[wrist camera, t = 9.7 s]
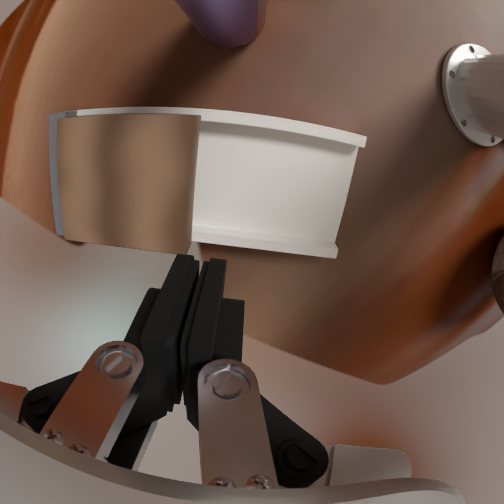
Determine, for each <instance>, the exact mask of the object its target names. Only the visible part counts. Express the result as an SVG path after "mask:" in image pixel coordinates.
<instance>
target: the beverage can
mask: <svg viewBox="0 0 504 504" xmlns="http://www.w3.org/2000/svg"><path fill="white" fill-rule="evenodd" d="M175 1H176V2H177V4H178V5H179V6H180V8H181V9H182V10H183V11H184V13H185V14H186V15H187V17H188V18H189V19H190V21H191V22H192V23H193V25H194V26H195V27H196V29H197V30H198V31H199V33H200V34H201V36H202V37H203V38H204V39H205V40H206V41H208V42H209V43H211V44H213V45H215V46H219V47H224V48H234V47H239V46H243V45H245V44H248V43H250V42H251V41H253V40H254V39H255V38H256V37H257V36H258V35H259V34H260V33H261V31H262V29H263V27H264V23H265V17H266V10H267V4H268V0H175Z"/></svg>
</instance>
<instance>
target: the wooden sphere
mask: <svg viewBox="0 0 504 504" xmlns="http://www.w3.org/2000/svg"><path fill="white" fill-rule="evenodd" d="M492 287H493V292H494V296H495V299H496V301H497V304H498V306H499V307H500V309H501V311H502V312H503V313H504V236H503V237H502V239H501V241H500V242H499V244H498V247H497V249H496V252H495V255H494V259H493V264H492Z"/></svg>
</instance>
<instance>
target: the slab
mask: <svg viewBox="0 0 504 504" xmlns="http://www.w3.org/2000/svg"><path fill="white" fill-rule="evenodd" d="M200 124H201V115H190V114H166V113H121V114H98V115H84V116H72V117H66V118H60V119H57V169H58V185H59V197H60V207H61V216H62V223H63V230H64V237H65V240H72V241H80V242H87V243H94V244H102V245H109V246H116V247H124V248H132V249H139V250H147V251H155V252H162V253H170V254H185V255H186V254H187V252H188V249H189V247H190V245H191V241H192V221H193V204H194V190H195V177H196V165H197V154H198V143H199V133H200Z"/></svg>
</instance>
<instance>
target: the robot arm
mask: <svg viewBox="0 0 504 504" xmlns="http://www.w3.org/2000/svg"><path fill="white" fill-rule="evenodd" d="M442 89H443V96H444V99H445V103H446V107H447V109H448V112H449V114H450V117H451V118H452V120H453V122H454V124H455V126H456V127H457V128H458V130H459V131H460V132H461V133H462V134H463V135H464V136H465V137H466V138H467V139H468V140H470V141H471V142H473V143H475V144H478V145H481V146H485V147H487V146H493V145H496V144H498V143H499V142H501V141H502V140H503V139H504V54H494V55H492V54H491V53H490V52H489V51H488V50H486V49H485V48H483V47H482V46H480V45H477V44H474V43H464V44H459V45H457V46H454V47H453V48H452V49H451V50H450V51H449V53H448V54H447V56H446V58H445V61H444V64H443V69H442ZM226 261H227V260H224V259H216V258H210V262H206V261H204V262H203V265H202V269H201V272H200V275H199V261H198V260H194V256H192V255H185V254H177V256H176V258H175V260H174V262H173V264H172V266H171V268H170V270H169V273H168V275H167V277H166V279H165V282H164V283H163V286H162V288H161V289H157V288H149V290H148V291H147V293H146V295H145V297H144V299H143V301H142V303H141V305H140V307H139V309H138V311H137V313H136V316H135V318H134V320H133V322H132V324H131V326H130V328H129V330H128V333H127V335H126V337H125V339H124V341H112V342H108V343H105V344H103V345H102V346H100V347H98V349H96V350H95V351H94V353H93V354H92V355H91V357H90V358H89V360H88V361H87V363H86V364H85V365H84V367H83V368H82V370H81V371H78V372H76V373H74V374H71V375H68V376H66V377H63V378H60V379H58V380H55V381H53V382H50V383H47V384H45V385H42V386H39V387H36V388H35V389H33V390H31V391H29V390H28V389H27V388H26V387H23V386H18V385H13V384H9V383H5V382H1V381H0V504H466V503H465V501H464V499H463V497H462V496H461V494H460V492H459V491H458V490H456V489H455V487H453V486H452V485H450V484H448V483H446V482H442V481H439V480H434V479H427V478H412V477H411V463H410V460H409V458H408V457H407V456H406V454H404V453H403V452H401V451H399V450H395V449H380V448H367V447H356V446H347V445H339V444H335V445H334V446H327V445H322V444H321V443H320V442H319V441H318V440H317V439H315V438H314V437H313V436H312V435H310V434H309V433H308V432H306V431H305V430H303V429H302V428H301V427H300V426H298V425H297V424H296V423H295V422H293V421H292V420H291V419H290V418H288V417H287V416H286V415H284V414H283V413H282V412H281V411H280V410H279V409H277V408H276V407H275V406H274V405H272V404H271V403H270V402H269V401H268V400H266V399H265V398H264V397H263V396H262V395H261V394H260V392H259V387H258V382H257V378H256V376H255V374H254V372H253V371H252V370H251V369H250V367H248V366H247V365H245V364H243V363H242V343H243V342H242V341H243V323H244V303H245V302H244V300H236V299H228V298H223V291H224V281H225V272H226ZM182 392H183V396H184V405H185V406H186V410H187V419H188V420H189V421H190V423H191V424H192V425H193V426H194V427H195V428H196V429H197V430H198V431H199V449H200V466H201V480H202V484H196V483H189V482H183V481H177V480H172V479H167V478H162V477H157V476H153V475H149V474H145V473H140V472H137V471H138V468H139V466H140V463H141V461H142V458H143V456H144V454H145V451H146V449H147V447H148V445H149V442H150V440H151V437H152V435H153V433H154V430H155V428H156V425H157V421H158V419H160V418H162V417H164V416H165V415H166V414H167V411H169V412H172V411H173V406H174V404H180V401H181V396H182Z"/></svg>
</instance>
